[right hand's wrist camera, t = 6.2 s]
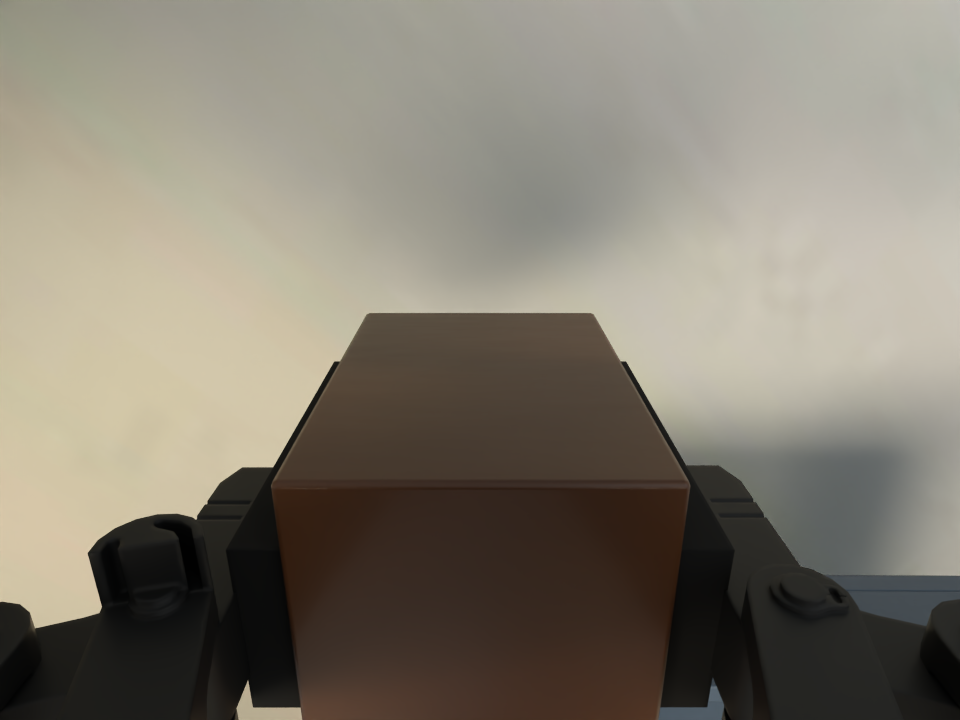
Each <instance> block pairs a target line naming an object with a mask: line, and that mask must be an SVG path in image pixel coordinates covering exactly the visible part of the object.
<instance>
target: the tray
mask: <svg viewBox="0 0 960 720" xmlns="http://www.w3.org/2000/svg"><path fill="white" fill-rule="evenodd" d="M824 576H827V577H829V578H831V579H833V580H834V581H835V582H836V583H838V584H839V585H840V586H841V587H843V588H844V589H845V590H846V591H848V592H849V594H850V595H851V597H852V598H853V600H854V601H855V603H856V604H857V605H858V607H859V610H861V611H864V612H868V613H871V614H875V615H878V616H883V617H887V618H892V619H896V620H901V621H905V622H910V623H915V624H919V625H924V626H927V623H928V620H929V617H930V614H931V611H932V609H933V608H935V607H936V606H937V605H938V604H939V603H941V602H944V601H950V600H957V599H960V576H887V575H824ZM723 709H724V704H723V701H722V699H721V696H720V694H719V691H718V689H717V686H716V684H715V682H714V679H713V678H712V684H711V689H710V695H709V701H708V706H707V707H660V713H659V720H722V714H723Z"/></svg>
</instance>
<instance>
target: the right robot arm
mask: <svg viewBox="0 0 960 720" xmlns="http://www.w3.org/2000/svg"><path fill="white" fill-rule="evenodd" d="M339 363H340V362H334V363H333V365H332V367H331V368H330V370H329V372H328V374H327V375H326V377H325V379H324V380H323V382H322V384H321V386H320V387H319V389H318V391H317V393H316V394H315V396H314V398H313V400H312V401H311V403H310V405H309V406H308V408H307V410H306V412H305V413H304V415H303V417H302V419H301V420H300V422H299V424H298V426H297V427H296V429H295V431H294V432H293V434H292V436H291V438H290V439H289V441H288V443H287V445H286V446H285V448H284V450H283V451H282V453H281V455H280V457H279V458H278V460H277V462H276V464H275V465H274V467H273V468H241V469H239V470H238V471H237V472H235V473H234V474H232V475H231V476H229V477H228V478H227V479H225V480H224V481H222V482H221V483H220V484H219V485H218V487H217V488H216V490H215V491H214V493H213V494H212V495H211V497H210V498H209V500H208V504H207V505H204V507H203V508H202V510H201V511H200V513H199V514H198V516H197V520H195V519H194V518H192V517H188V516H184V515H180V514H157V515H153V516H149V517H144V518H140V519H136V520H134V521H131V522H129V523H126V524H124V525H122V526H119V527H117V528H115V529H114V530H112V531H111V532H109V533H108V534H106V535H105V536H103V537H102V538H100V539H99V540H98V541H97V542H96V543H95V545H94V546H93V547H92V548H91V550H90V551H89V552H88V556H89V560H90V564H91V567H92V571H93V575H94V578H95V582H96V586H97V590H98V593H99V597H100V601H101V604H102V609H101V611H100V613H99V614H95V615H92V616H88V617H85V618H81V619H76V620H72V621H67V622H63V623H58V624H54V625H49V626H45V627H40V628H36V629H35V627H34V624H33V621H32V618H31V615H30V612H28V611H27V610H26V609H25V608H24V607H22V606H21V605H20V604H14V603H7V602H0V720H238V714H237V709H236V708H237V706H238V703H239V701H240V698H241V696H242V693H243V691H244V688H245V686H246V683H247V681H249V687H250V692H251V698H252V704H253V707H301V705H300V698H299V690H298V683H297V675H296V668H295V660H294V653H293V646H292V638H291V631H290V623H289V616H288V608H287V601H286V593H285V586H284V578H283V571H282V563H281V556H280V548H279V541H278V534H277V526H276V519H275V511H274V504H273V496H272V489H271V485H272V482H273V480H274V478H275V476H276V474H277V473H278V471H279V469H280V467H281V466H282V464H283V462H284V460H285V458H286V457H287V455H288V453H289V451H290V450H291V448H292V446H293V444H294V443H295V441H296V439H297V437H298V435H299V434H300V432H301V430H302V428H303V427H304V425H305V423H306V421H307V419H308V418H309V416H310V414H311V412H312V411H313V409H314V407H315V405H316V404H317V402H318V400H319V398H320V396H321V395H322V393H323V391H324V389H325V388H326V386H327V384H328V382H329V381H330V379H331V377H332V375H333V373H334V372H335V370H336V368H337V366H338V365H339ZM621 363H622V365H623V367H624V369H625V370H626V372H627V374H628V376H629V377H630V379H631V381H632V383H633V384H634V386H635V388H636V390H637V391H638V393H639V395H640V397H641V398H642V400H643V402H644V404H645V405H646V407H647V409H648V411H649V412H650V414H651V416H652V418H653V419H654V421H655V423H656V425H657V426H658V428H659V430H660V432H661V433H662V435H663V437H664V439H665V440H666V442H667V444H668V446H669V447H670V449H671V451H672V453H673V454H674V456H675V458H676V460H677V461H678V463H679V465H680V467H681V468H682V470H683V472H684V474H685V475H686V477H687V479H688V481H689V483H690V492H689V500H688V507H687V514H686V522H685V529H684V536H683V544H682V551H681V558H680V566H679V573H678V581H677V588H676V595H675V603H674V610H673V617H672V625H671V632H670V639H669V647H668V654H667V661H666V669H665V676H664V684H663V691H662V698H661V706H660V707H707V706H708V701H709V695H710V689H711V684H712V678H713V679H714V682H715V684H716V686H717V689H718V691H719V694H720V696H721V699H722V701H723V704H724V709H723V714H722V720H960V599H957V600H950V601H944V602H941V603H939V604H938V605H937V606H936V607H935V608H933V609H932V611H931V614H930V617H929V620H928V623H927V626H924V625H919V624H915V623H910V622H905V621H901V620H896V619H892V618H887V617H883V616H878V615H875V614H871V613H868V612H864V611H861V610H859V607H858V605H857V604H856V603H855V601H854V600H853V598H852V597H851V595H850V594H849V592H848V591H846V590H845V589H844V588H843V587H841V586H840V585H839V584H838V583H836V582H835V581H834V580H833V579H831V578H829V577H827V576H824V575H822V574H820V573H818V572H816V571H814V570H812V569H808V568H804V567H801V566H800V565H799V564H798V562H797V561H796V559H795V558H794V556H793V555H792V554H791V552H790V551H789V549H788V548H787V546H786V545H785V544H784V542H783V541H782V539H781V538H780V536H779V535H778V534H777V532H776V531H775V529H774V528H773V526H772V525H771V524H770V522H769V521H768V519H767V518H764V514H763V512H762V511H761V509H760V508H759V506H758V505H757V504H756V502H753V498H752V496H751V495H750V494H749V492H748V491H747V489H746V488H745V486H744V485H743V484H742V482H741V481H740V480H739V479H737V478H736V477H734V476H733V475H731V474H730V473H728V472H727V471H726V470H724V469H723V468H721V467H720V466H686V465H685V463H684V461H683V459H682V458H681V456H680V454H679V452H678V451H677V449H676V447H675V446H674V444H673V442H672V440H671V439H670V437H669V435H668V433H667V432H666V430H665V428H664V427H663V425H662V423H661V421H660V420H659V418H658V416H657V414H656V413H655V411H654V409H653V407H652V406H651V404H650V402H649V401H648V399H647V397H646V395H645V394H644V392H643V390H642V388H641V387H640V385H639V383H638V382H637V380H636V378H635V376H634V375H633V373H632V371H631V369H630V368H629V366H628V364H627V362H621Z"/></svg>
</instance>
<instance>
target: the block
mask: <svg viewBox="0 0 960 720" xmlns="http://www.w3.org/2000/svg"><path fill="white" fill-rule="evenodd" d="M271 489H272V496H273V504H274V511H275V519H276V526H277V534H278V541H279V548H280V556H281V563H282V571H283V578H284V586H285V593H286V601H287V608H288V616H289V623H290V631H291V638H292V646H293V653H294V660H295V668H296V675H297V683H298V690H299V698H300V705H301V713H302V720H659V713H660V706H661V698H662V691H663V684H664V676H665V669H666V661H667V654H668V647H669V639H670V632H671V625H672V617H673V610H674V603H675V595H676V588H677V581H678V573H679V566H680V558H681V551H682V544H683V536H684V529H685V522H686V514H687V507H688V500H689V492H690V483H689V481H688V479H687V477H686V475H685V474H684V472H683V470H682V468H681V467H680V465H679V463H678V461H677V460H676V458H675V456H674V454H673V453H672V451H671V449H670V447H669V446H668V444H667V442H666V440H665V439H664V437H663V435H662V433H661V432H660V430H659V428H658V426H657V425H656V423H655V421H654V419H653V418H652V416H651V414H650V412H649V411H648V409H647V407H646V405H645V404H644V402H643V400H642V398H641V397H640V395H639V393H638V391H637V390H636V388H635V386H634V384H633V383H632V381H631V379H630V377H629V376H628V374H627V372H626V370H625V369H624V367H623V365H622V363H621V362H620V360H619V358H618V356H617V355H616V353H615V351H614V349H613V348H612V346H611V344H610V342H609V341H608V339H607V337H606V335H605V334H604V332H603V330H602V328H601V327H600V325H599V323H598V321H597V319H596V318H595V316H594V314H591V313H369V314H367V315H366V317H365V318H364V320H363V322H362V324H361V326H360V327H359V329H358V331H357V333H356V334H355V336H354V338H353V340H352V342H351V343H350V345H349V347H348V349H347V350H346V352H345V354H344V356H343V357H342V359H341V361H340V363H339V365H338V366H337V368H336V370H335V372H334V373H333V375H332V377H331V379H330V381H329V382H328V384H327V386H326V388H325V389H324V391H323V393H322V395H321V396H320V398H319V400H318V402H317V404H316V405H315V407H314V409H313V411H312V412H311V414H310V416H309V418H308V419H307V421H306V423H305V425H304V427H303V428H302V430H301V432H300V434H299V435H298V437H297V439H296V441H295V443H294V444H293V446H292V448H291V450H290V451H289V453H288V455H287V457H286V458H285V460H284V462H283V464H282V466H281V467H280V469H279V471H278V473H277V474H276V476H275V478H274V480H273V482H272V485H271Z"/></svg>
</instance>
